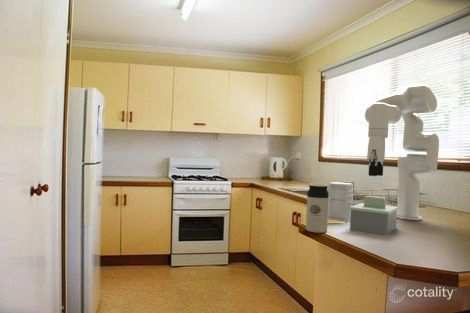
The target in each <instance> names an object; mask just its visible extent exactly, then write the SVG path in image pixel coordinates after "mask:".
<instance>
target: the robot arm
mask: <svg viewBox="0 0 470 313" xmlns="http://www.w3.org/2000/svg"><path fill="white" fill-rule="evenodd" d="M437 107H438V100H437V97H436V96H435V94H434V92H433V91H432V90H431V88H430V87H429V86H428V85H426V84H410V85H409V84H408V85H404V86H403V85H402V86H400V87H399V88H398V89H396V91H394V92H393V93H392V95H389V96H386V97H383V98H380V99H378V100H375V101H373V102H372V103H371V104H370V105H368V107H367V108H366V110H365V114H364V118H365V121H366V122H367V123H368V132H367V137H368V144H367V146H368V147H367V156H366V160H367V161H368V162H369V163H368V176H370V177H378V176H379V177H383V175H384V161H385V155H386V139H388V138H389V124H395V123H399V121H400V120H401V118H402V119H403V124H404V126H403V127H404V129H403V138H402V147H403V149H404V151H407V152H413V153H404V154H401V155H400V156H399V157H398V159H397V172H398V187H397V188H398V189H397V190H398V191H397V207H399V209H398V210H397V219H400V220H408V221H410V220H411V221H421V220H422V219H423V217H422V216H421V215H419V210H420V209H419V207H420V191H421V190H420V188H421V184H420V179H419V178H418V177H417V176H416V175H419V174H420V175H434V174H435V173H436V172H437V168H438V163H439V162H438V161H439V150H440V140H439V139H440V138H439V136H438V134H437V133H435V132H432V131H431V132H428V131H427V132H424V121H423V119H422V118H421V117H420V116H419V114H428V113H434V112H435V111H436V109H437ZM414 152H415V153H414ZM416 152H417V153H416ZM419 153H426V154H419Z"/></svg>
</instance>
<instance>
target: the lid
mask: <svg viewBox="0 0 470 313" xmlns="http://www.w3.org/2000/svg"><path fill="white" fill-rule="evenodd" d="M398 209H399V207H398V205H387V197H382V196H381V197H380V196H371V195H365V196H364V198H363V202H360V203H358V204H355V205H353V206H351V207H349V210H358V211H366V212H374V213H383V214H390V213H392V212H394V211H396V210H398Z"/></svg>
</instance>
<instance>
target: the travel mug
mask: <svg viewBox="0 0 470 313" xmlns="http://www.w3.org/2000/svg"><path fill="white" fill-rule="evenodd" d="M308 188H309V189H308V191H307V194H306V196H307V198H306V219H305V231H308V232H310V233H316V234H322V233H323V234H324V233H326V232H328V220H329V219H328V198H329V193H328V188H329V184H326V183H314V182H313V183H308Z"/></svg>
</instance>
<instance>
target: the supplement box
mask: <svg viewBox="0 0 470 313" xmlns="http://www.w3.org/2000/svg"><path fill="white" fill-rule="evenodd" d="M327 191H328V193H329V198H328V220H331V221H338V222H339V221H341V222H349V221H350V217H351V210H349V207H351V206H354V205H353V202H354V201H353V200H354V182H353V183H352V182H338V181H337V182H336V181H334V182H333V181H332V182H329V183H328V189H327Z"/></svg>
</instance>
